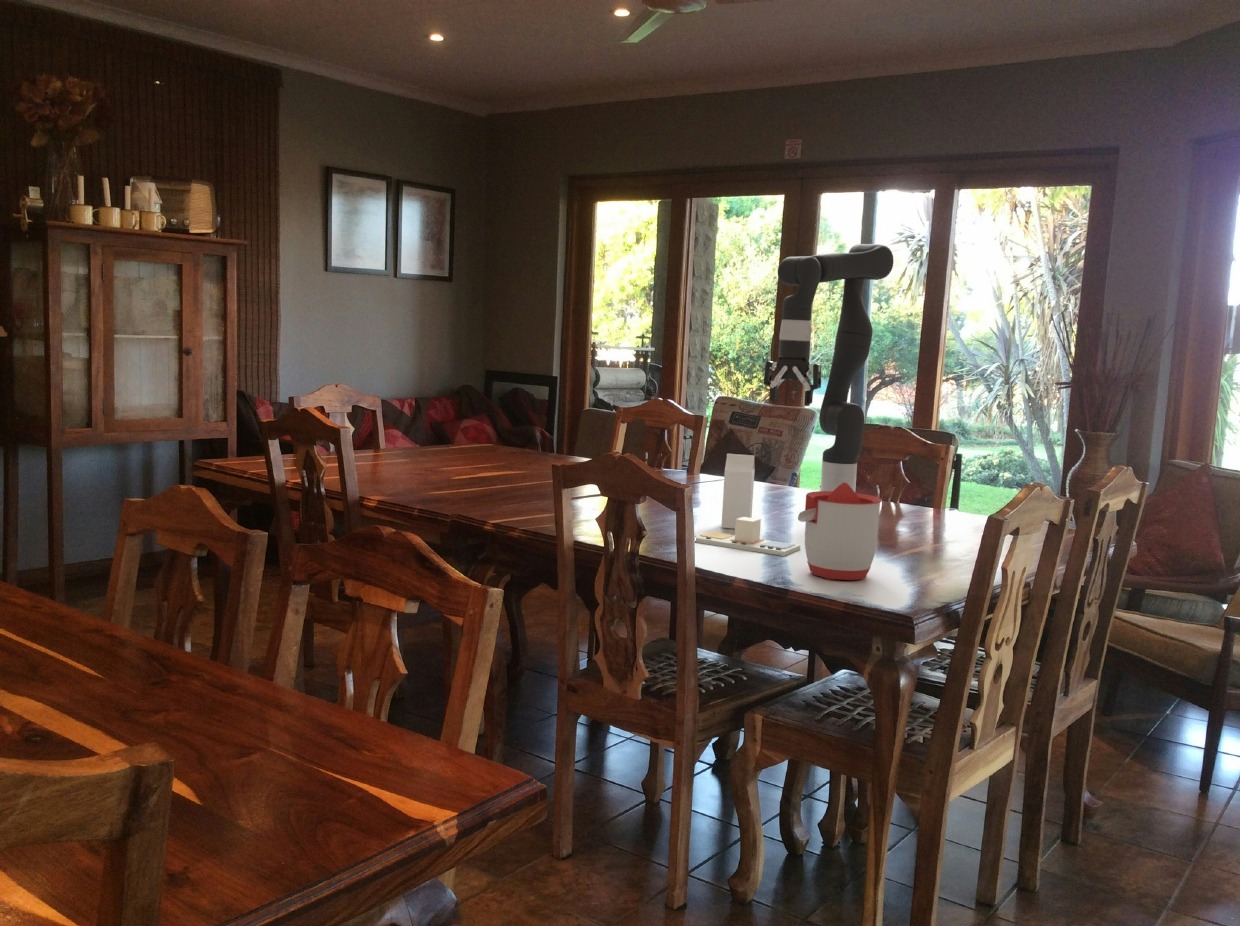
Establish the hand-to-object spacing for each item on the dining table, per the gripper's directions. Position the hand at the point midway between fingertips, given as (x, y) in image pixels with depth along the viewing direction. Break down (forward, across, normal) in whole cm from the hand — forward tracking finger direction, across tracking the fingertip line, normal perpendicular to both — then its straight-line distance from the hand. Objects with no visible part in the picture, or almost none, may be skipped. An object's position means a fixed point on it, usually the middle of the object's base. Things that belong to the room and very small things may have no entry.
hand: (790, 404), depth 265 cm
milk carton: (+33, +14, -3) cm, 36 cm away
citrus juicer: (+33, -26, +34) cm, 54 cm away
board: (+33, +2, +18) cm, 38 cm away
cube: (+32, +2, +17) cm, 36 cm away
